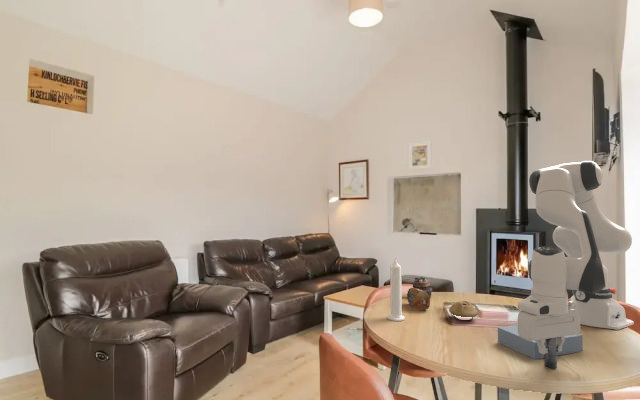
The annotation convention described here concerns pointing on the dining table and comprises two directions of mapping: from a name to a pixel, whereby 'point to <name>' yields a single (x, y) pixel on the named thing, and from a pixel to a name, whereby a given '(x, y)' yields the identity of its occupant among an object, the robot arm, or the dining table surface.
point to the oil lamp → (463, 309)
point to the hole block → (530, 348)
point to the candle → (396, 292)
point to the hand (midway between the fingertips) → (550, 352)
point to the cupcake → (422, 285)
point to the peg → (550, 353)
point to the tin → (418, 299)
